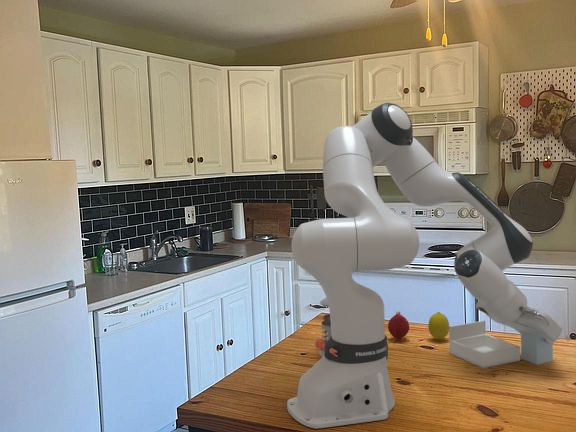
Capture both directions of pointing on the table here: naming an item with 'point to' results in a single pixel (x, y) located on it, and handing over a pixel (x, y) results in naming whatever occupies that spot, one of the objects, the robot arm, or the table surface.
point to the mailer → (480, 346)
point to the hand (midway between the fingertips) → (538, 337)
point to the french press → (325, 324)
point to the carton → (535, 349)
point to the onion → (398, 326)
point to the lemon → (438, 326)
